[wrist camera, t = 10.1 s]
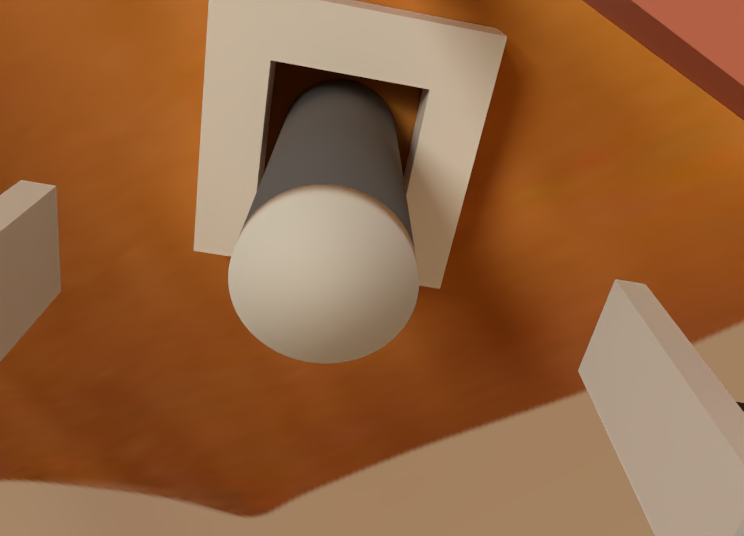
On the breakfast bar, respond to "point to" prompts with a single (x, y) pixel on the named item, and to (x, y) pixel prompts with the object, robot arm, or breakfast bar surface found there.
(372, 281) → the dark grey cylinder
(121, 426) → the breakfast bar surface
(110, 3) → the breakfast bar surface
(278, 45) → the socket
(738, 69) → the clip
